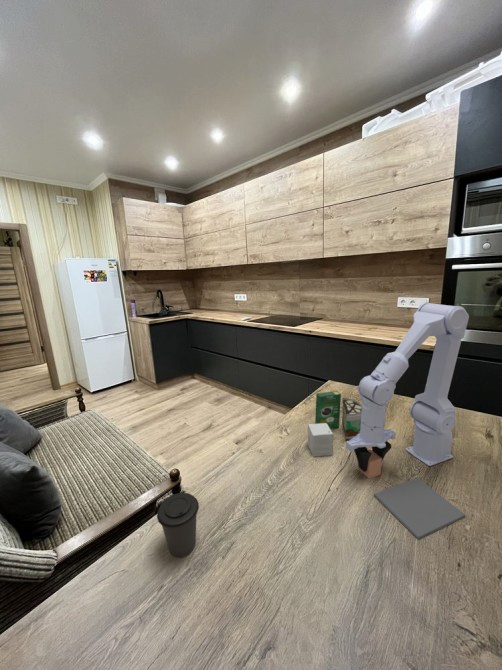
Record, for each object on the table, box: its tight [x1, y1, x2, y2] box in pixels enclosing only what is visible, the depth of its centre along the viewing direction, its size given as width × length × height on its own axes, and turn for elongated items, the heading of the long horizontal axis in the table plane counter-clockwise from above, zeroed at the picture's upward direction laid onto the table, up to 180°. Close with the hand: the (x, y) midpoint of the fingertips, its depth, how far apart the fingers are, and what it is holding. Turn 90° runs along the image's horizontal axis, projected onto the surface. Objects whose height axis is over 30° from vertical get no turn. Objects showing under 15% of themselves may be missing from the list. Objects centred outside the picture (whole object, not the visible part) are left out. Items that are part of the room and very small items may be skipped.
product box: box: [307, 423, 334, 457], centre depth 84 cm, size 6×6×7 cm
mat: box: [373, 477, 466, 540], centre depth 64 cm, size 14×12×1 cm
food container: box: [341, 397, 362, 442], centre depth 92 cm, size 12×6×10 cm, turn 168°
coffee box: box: [314, 390, 342, 430], centre depth 95 cm, size 8×3×13 cm, turn 103°
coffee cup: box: [156, 492, 200, 559], centre depth 56 cm, size 8×8×10 cm
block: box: [357, 448, 383, 479], centre depth 75 cm, size 4×4×5 cm
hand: (369, 466), depth 75 cm, fingers closed on block, 4 cm apart
